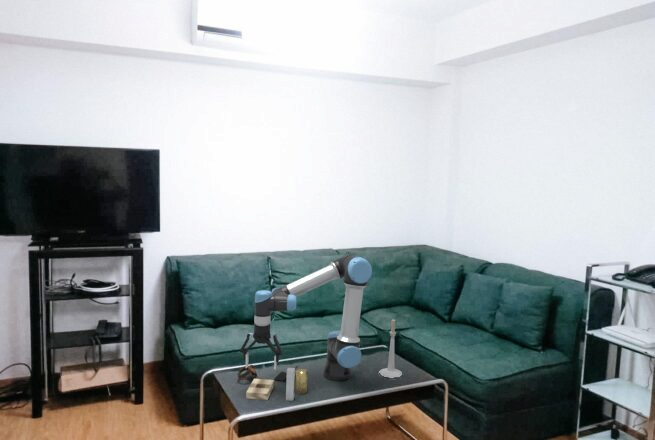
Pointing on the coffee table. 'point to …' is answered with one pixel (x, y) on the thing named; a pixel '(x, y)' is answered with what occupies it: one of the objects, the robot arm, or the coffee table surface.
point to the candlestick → (391, 357)
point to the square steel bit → (290, 384)
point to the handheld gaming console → (281, 377)
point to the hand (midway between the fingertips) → (261, 367)
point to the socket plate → (260, 389)
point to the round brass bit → (301, 381)
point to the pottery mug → (247, 373)
